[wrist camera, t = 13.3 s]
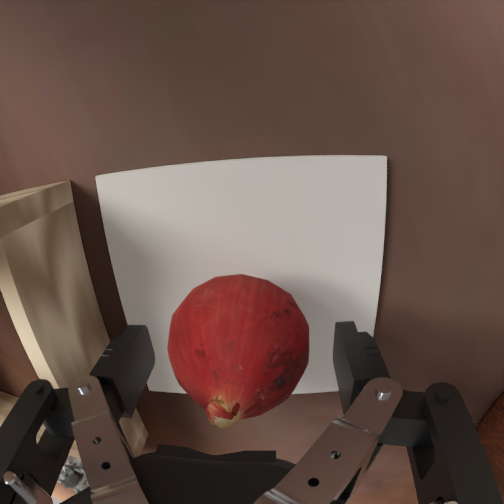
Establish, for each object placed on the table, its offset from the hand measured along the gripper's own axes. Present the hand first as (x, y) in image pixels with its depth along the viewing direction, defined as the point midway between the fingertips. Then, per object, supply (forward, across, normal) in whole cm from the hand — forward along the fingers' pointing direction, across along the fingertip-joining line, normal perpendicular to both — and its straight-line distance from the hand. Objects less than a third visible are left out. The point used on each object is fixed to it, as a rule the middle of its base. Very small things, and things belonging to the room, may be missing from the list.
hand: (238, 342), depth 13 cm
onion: (+4, 0, 0) cm, 4 cm away
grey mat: (+4, 0, 0) cm, 4 cm away
